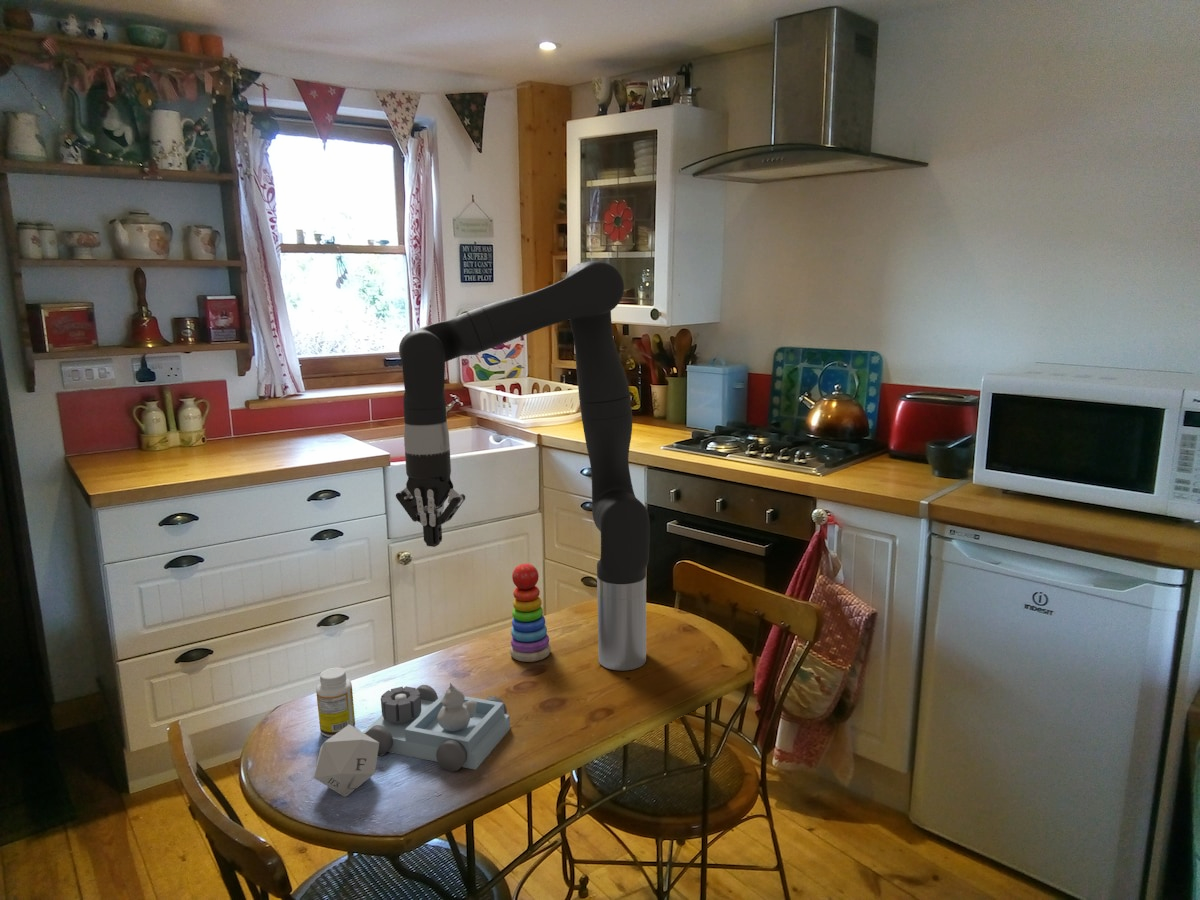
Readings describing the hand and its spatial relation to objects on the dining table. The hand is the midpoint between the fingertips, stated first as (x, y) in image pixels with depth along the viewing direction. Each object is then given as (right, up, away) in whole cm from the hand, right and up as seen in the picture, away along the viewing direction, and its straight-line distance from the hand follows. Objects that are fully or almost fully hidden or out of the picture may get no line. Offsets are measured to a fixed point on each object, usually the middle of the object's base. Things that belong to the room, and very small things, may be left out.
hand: (433, 545), depth 143 cm
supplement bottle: (-14, -30, -8) cm, 34 cm away
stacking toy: (+15, -24, +18) cm, 34 cm away
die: (-8, -33, -23) cm, 41 cm away
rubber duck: (+7, -28, -13) cm, 31 cm away
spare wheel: (-3, -26, -9) cm, 28 cm away
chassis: (+3, -30, -11) cm, 32 cm away
